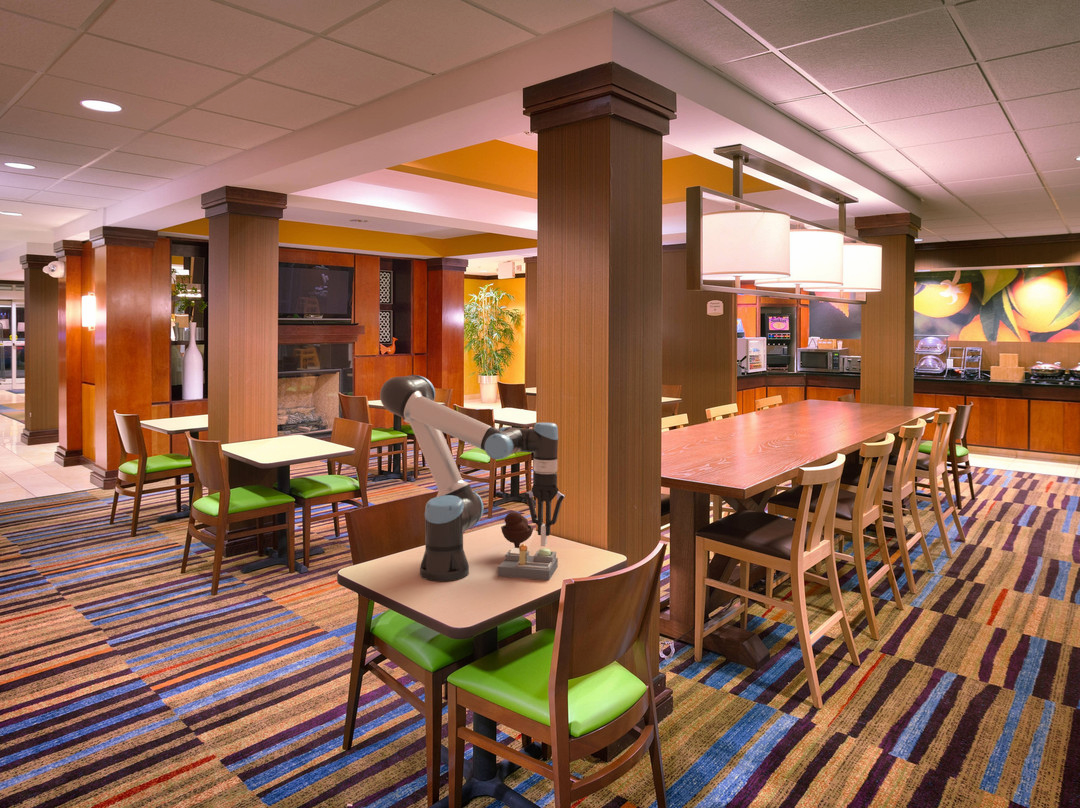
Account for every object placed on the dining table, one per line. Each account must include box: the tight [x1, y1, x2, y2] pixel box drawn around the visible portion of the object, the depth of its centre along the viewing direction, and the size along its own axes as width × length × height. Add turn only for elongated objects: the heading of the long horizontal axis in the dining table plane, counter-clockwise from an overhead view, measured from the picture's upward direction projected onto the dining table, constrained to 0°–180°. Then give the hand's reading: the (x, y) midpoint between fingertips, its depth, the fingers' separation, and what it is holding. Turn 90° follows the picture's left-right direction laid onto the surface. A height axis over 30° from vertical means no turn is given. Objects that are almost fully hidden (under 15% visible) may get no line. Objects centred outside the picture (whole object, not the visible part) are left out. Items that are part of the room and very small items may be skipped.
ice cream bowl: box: [500, 511, 534, 548], centre depth 234 cm, size 11×11×15 cm
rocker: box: [510, 547, 520, 555], centre depth 221 cm, size 4×3×1 cm
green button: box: [538, 547, 551, 556], centre depth 219 cm, size 4×4×3 cm
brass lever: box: [519, 543, 528, 565], centre depth 214 cm, size 3×3×6 cm
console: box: [497, 549, 559, 581], centre depth 217 cm, size 16×13×5 cm
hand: (543, 545), depth 219 cm, fingers closed
